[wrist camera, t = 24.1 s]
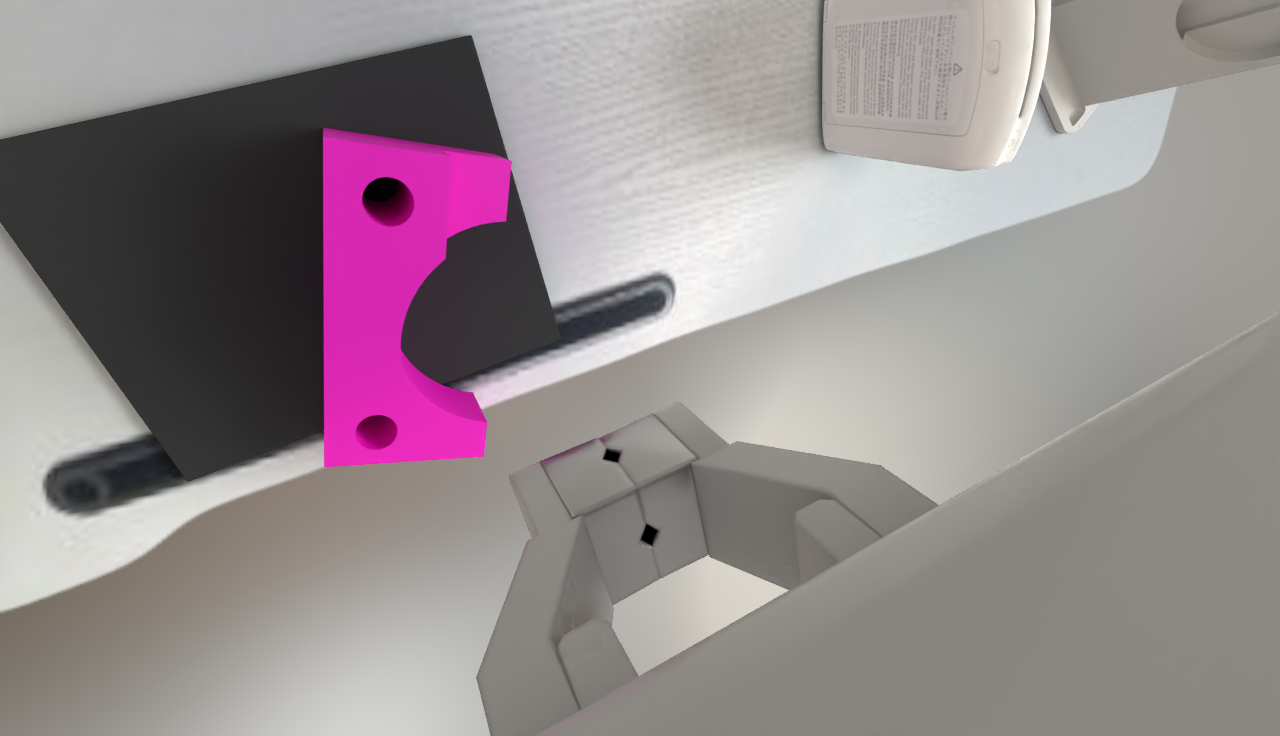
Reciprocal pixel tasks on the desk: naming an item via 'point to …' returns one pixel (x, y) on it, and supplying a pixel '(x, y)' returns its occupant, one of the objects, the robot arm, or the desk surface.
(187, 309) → the mat
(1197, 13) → the phone holder
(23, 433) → the desk surface
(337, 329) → the toy block
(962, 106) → the photo printer
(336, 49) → the desk surface
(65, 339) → the desk surface
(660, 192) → the desk surface
